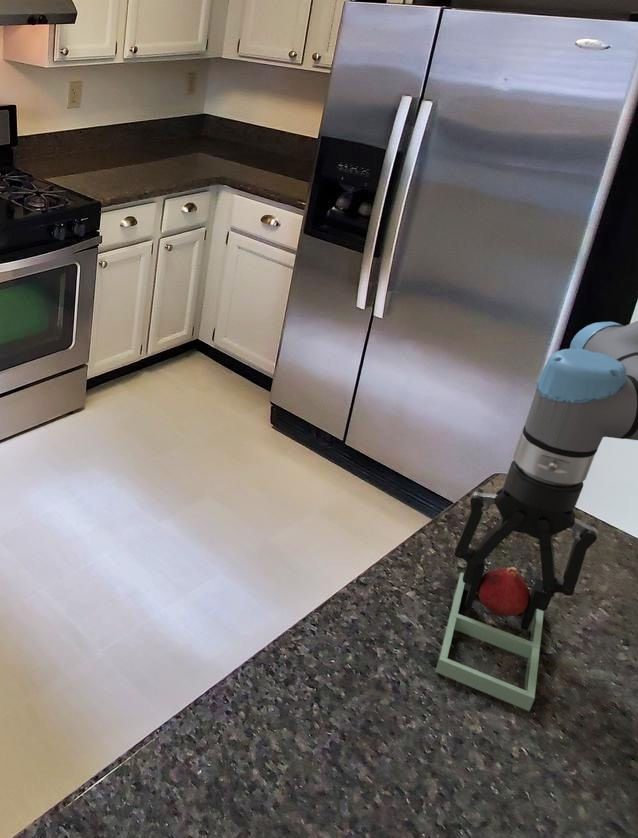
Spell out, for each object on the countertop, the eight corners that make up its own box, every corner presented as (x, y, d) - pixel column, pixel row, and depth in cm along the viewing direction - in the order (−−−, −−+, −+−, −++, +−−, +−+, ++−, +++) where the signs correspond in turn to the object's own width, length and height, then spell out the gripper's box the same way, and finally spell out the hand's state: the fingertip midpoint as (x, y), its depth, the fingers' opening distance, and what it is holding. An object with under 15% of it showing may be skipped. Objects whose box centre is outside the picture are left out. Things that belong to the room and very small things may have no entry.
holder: (455, 588, 115) (460, 571, 114) (538, 618, 110) (544, 601, 108) (433, 677, 101) (439, 659, 99) (527, 716, 95) (534, 698, 94)
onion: (478, 625, 106) (494, 579, 102) (465, 595, 111) (480, 550, 107) (527, 633, 105) (545, 586, 101) (512, 602, 110) (529, 556, 106)
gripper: (456, 459, 100) (414, 599, 110) (645, 513, 90) (579, 662, 100) (464, 433, 106) (423, 568, 115) (643, 482, 95) (581, 626, 105)
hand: (496, 612), depth 108 cm, fingers closed on onion, 6 cm apart
